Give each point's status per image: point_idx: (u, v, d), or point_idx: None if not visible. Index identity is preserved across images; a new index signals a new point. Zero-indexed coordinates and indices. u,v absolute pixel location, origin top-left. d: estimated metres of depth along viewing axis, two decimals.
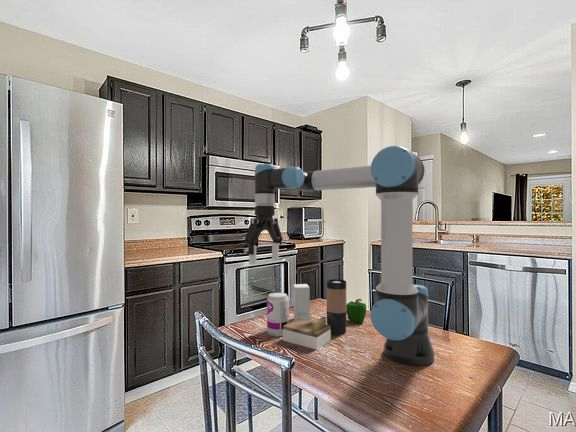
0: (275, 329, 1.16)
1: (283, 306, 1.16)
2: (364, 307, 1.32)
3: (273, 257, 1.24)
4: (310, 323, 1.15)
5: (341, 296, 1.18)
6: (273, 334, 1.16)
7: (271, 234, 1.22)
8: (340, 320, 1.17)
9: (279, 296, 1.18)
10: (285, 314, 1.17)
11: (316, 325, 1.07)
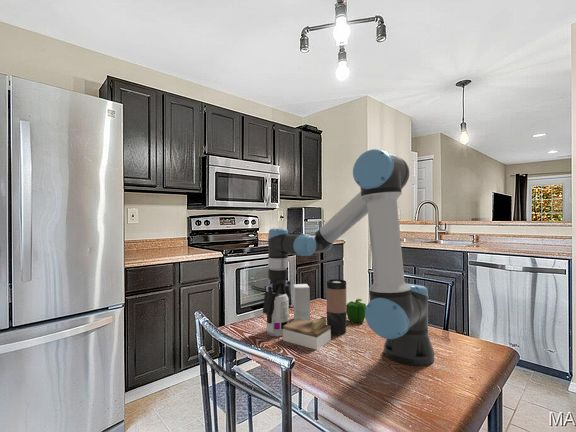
0: (275, 329, 1.16)
1: (282, 306, 1.16)
2: (364, 307, 1.32)
3: None
4: (310, 323, 1.15)
5: (341, 296, 1.18)
6: (273, 334, 1.16)
7: None
8: (340, 320, 1.17)
9: (279, 296, 1.18)
10: (285, 314, 1.17)
11: (316, 325, 1.07)
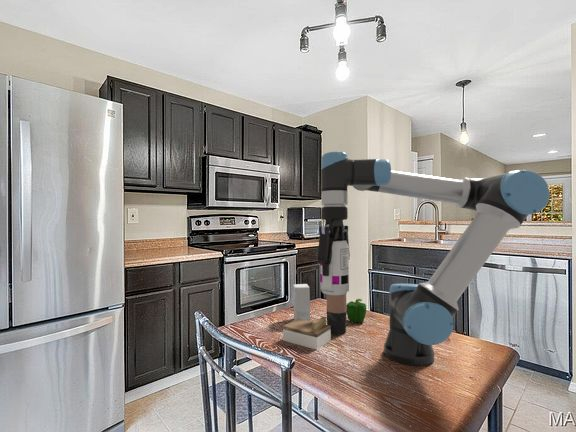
0: (333, 285, 0.86)
1: (343, 254, 0.87)
2: (364, 307, 1.32)
3: None
4: (310, 323, 1.15)
5: (341, 296, 1.18)
6: (330, 291, 0.87)
7: None
8: (340, 320, 1.17)
9: None
10: (346, 265, 0.87)
11: (316, 325, 1.07)
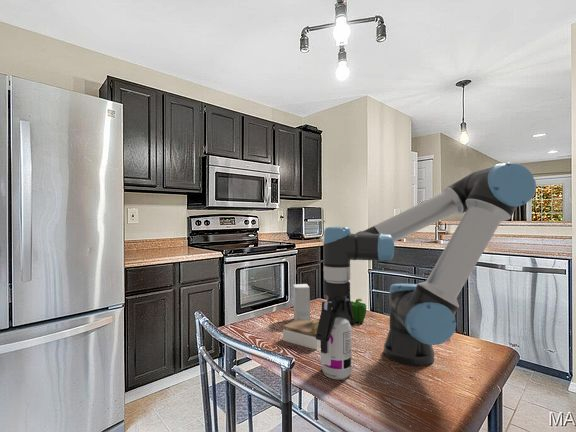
0: (336, 369, 0.85)
1: (345, 338, 0.86)
2: (364, 307, 1.32)
3: None
4: (310, 323, 1.15)
5: None
6: (333, 375, 0.85)
7: (342, 315, 0.93)
8: None
9: (340, 323, 0.87)
10: (348, 348, 0.86)
11: (316, 325, 1.07)
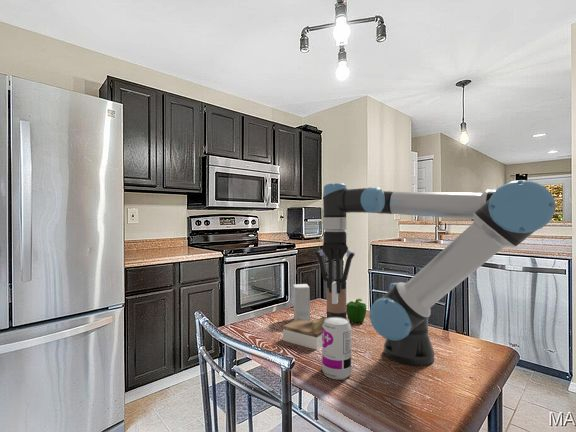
0: (336, 369, 0.85)
1: (345, 338, 0.86)
2: (364, 307, 1.32)
3: None
4: (310, 323, 1.15)
5: (341, 296, 1.18)
6: (333, 376, 0.85)
7: None
8: None
9: (340, 323, 0.87)
10: (348, 348, 0.86)
11: (316, 325, 1.07)
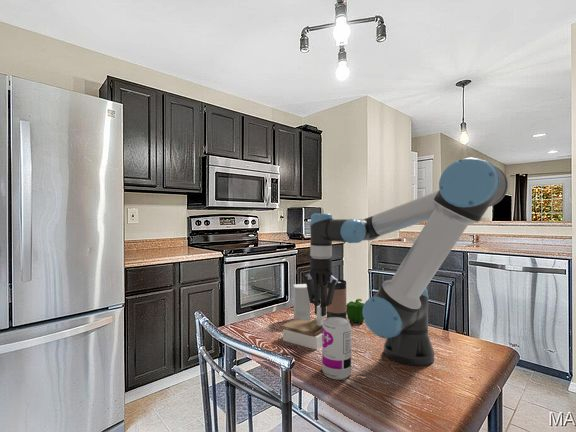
0: (336, 369, 0.85)
1: (345, 338, 0.86)
2: None
3: None
4: (308, 323, 1.15)
5: (341, 296, 1.18)
6: (333, 376, 0.85)
7: None
8: None
9: (340, 323, 0.87)
10: (348, 348, 0.86)
11: (314, 325, 1.07)
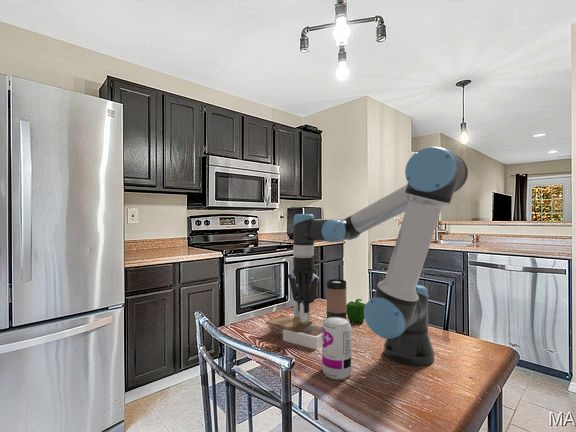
0: (336, 369, 0.85)
1: (345, 338, 0.86)
2: (364, 307, 1.32)
3: None
4: (292, 319, 1.19)
5: (341, 296, 1.18)
6: (333, 375, 0.85)
7: None
8: None
9: (340, 323, 0.87)
10: (348, 348, 0.86)
11: (297, 321, 1.11)
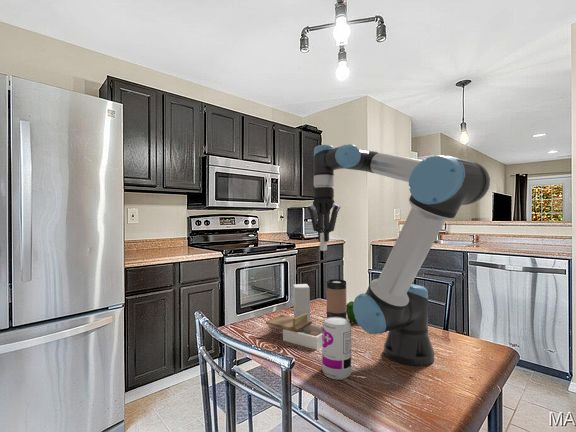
0: (336, 369, 0.85)
1: (345, 338, 0.86)
2: None
3: None
4: (292, 319, 1.19)
5: (341, 296, 1.18)
6: (333, 375, 0.85)
7: None
8: None
9: (340, 323, 0.87)
10: (348, 348, 0.86)
11: (297, 321, 1.11)
